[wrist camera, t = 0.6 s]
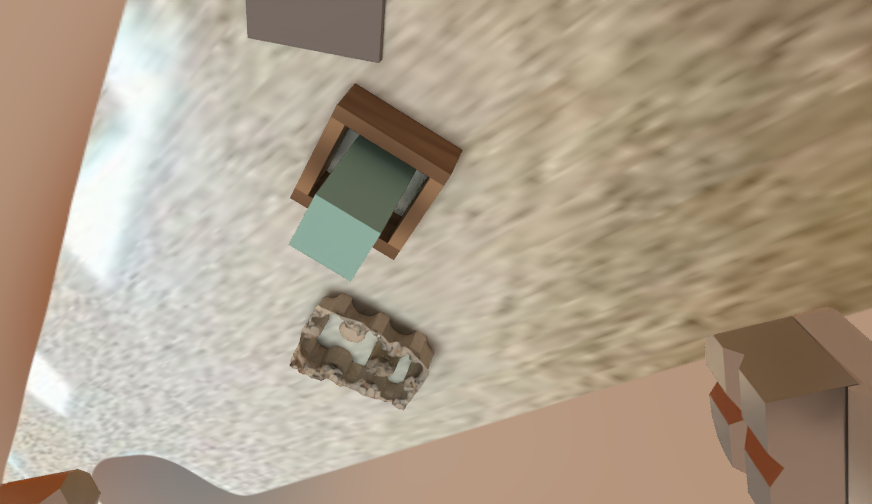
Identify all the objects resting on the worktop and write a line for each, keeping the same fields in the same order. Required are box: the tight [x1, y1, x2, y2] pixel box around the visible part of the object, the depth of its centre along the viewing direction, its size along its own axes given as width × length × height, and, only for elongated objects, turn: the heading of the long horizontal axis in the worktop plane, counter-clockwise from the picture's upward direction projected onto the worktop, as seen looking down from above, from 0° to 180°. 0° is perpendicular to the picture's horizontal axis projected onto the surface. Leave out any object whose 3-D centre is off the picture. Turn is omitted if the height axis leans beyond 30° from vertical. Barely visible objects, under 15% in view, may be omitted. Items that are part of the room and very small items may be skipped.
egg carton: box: [290, 293, 434, 410], centre depth 62 cm, size 11×8×4 cm
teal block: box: [289, 135, 416, 281], centre depth 49 cm, size 4×4×10 cm
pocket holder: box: [290, 84, 462, 260], centre depth 52 cm, size 8×8×4 cm
